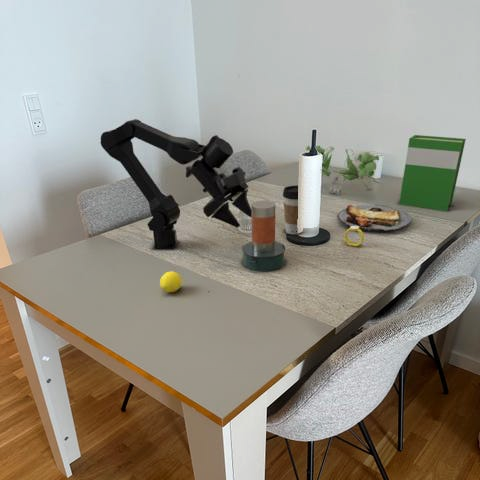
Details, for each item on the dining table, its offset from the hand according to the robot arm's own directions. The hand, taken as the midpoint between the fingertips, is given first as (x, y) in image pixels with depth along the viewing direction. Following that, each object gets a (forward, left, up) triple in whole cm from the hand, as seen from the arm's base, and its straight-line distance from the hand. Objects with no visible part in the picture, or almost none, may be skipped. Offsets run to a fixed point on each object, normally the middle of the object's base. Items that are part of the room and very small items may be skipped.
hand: (245, 221), depth 134 cm
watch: (+33, +11, -12) cm, 37 cm away
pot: (+5, -2, -12) cm, 13 cm away
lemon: (-19, -20, -12) cm, 30 cm away
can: (+5, -2, -7) cm, 9 cm away
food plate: (+43, +32, -12) cm, 55 cm away
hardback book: (+66, +51, -12) cm, 84 cm away
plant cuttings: (+37, +70, -12) cm, 80 cm away
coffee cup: (+15, +23, -12) cm, 30 cm away
